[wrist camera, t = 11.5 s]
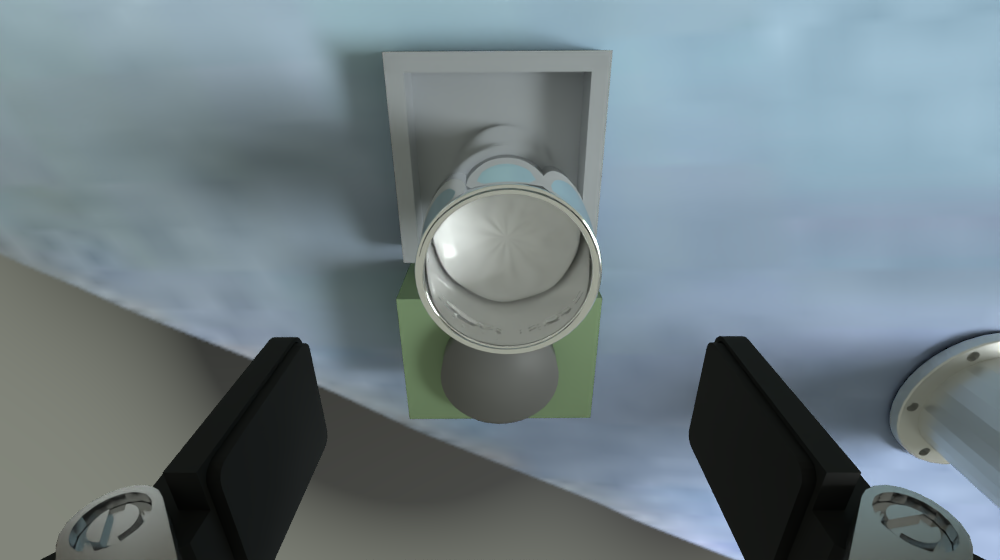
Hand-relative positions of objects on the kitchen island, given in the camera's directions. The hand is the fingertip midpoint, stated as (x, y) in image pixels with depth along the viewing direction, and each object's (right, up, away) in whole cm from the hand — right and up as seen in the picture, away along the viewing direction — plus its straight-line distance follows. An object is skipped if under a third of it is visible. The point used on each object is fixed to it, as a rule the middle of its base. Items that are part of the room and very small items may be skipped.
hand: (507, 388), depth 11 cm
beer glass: (0, +9, +19) cm, 21 cm away
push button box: (0, +6, +21) cm, 22 cm away
